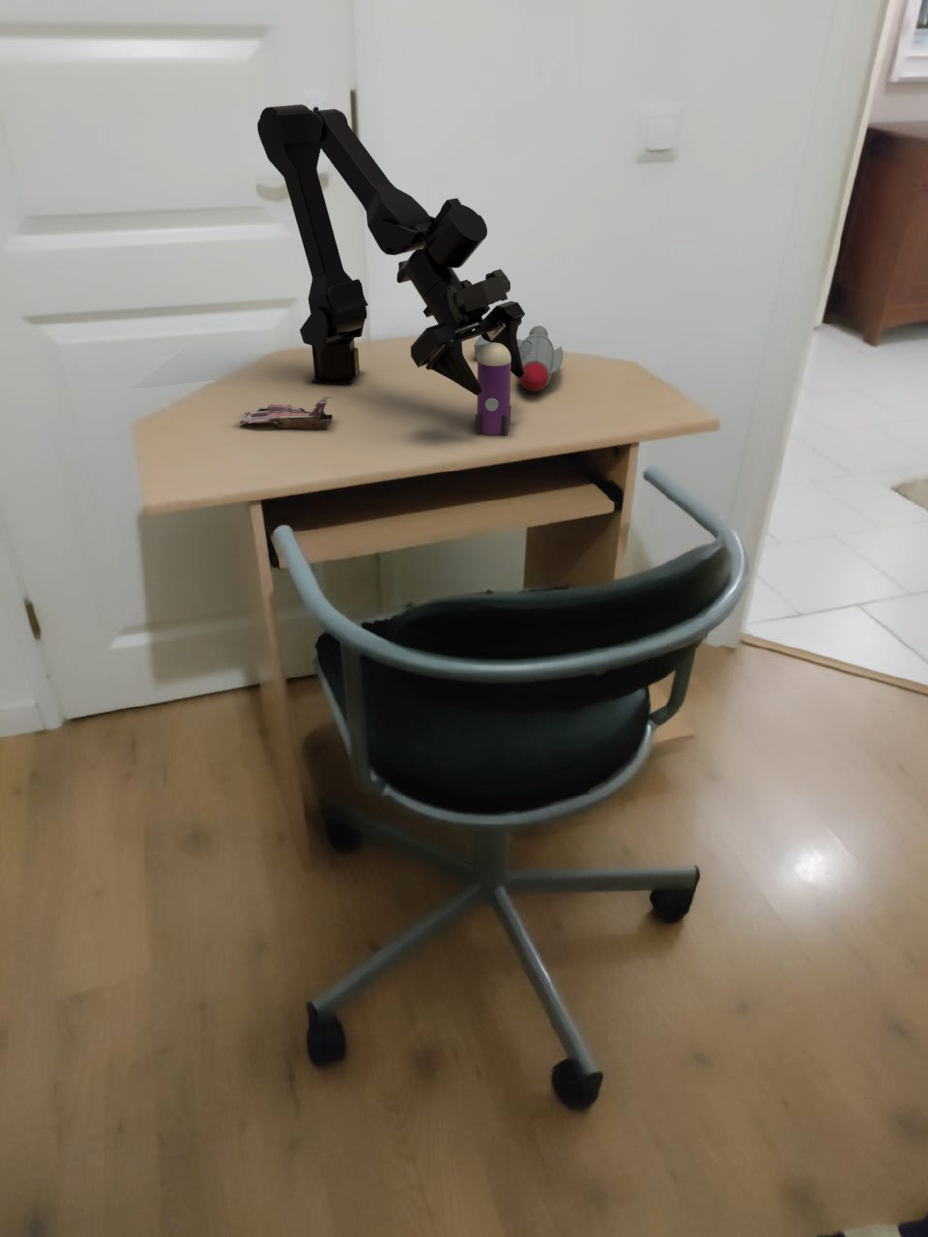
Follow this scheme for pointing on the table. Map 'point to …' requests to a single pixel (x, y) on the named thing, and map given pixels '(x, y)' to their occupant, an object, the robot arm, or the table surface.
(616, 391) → the table surface
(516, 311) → the robot arm
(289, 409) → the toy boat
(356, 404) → the table surface
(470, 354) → the table surface
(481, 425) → the toy rocket
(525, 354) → the toy ray gun
